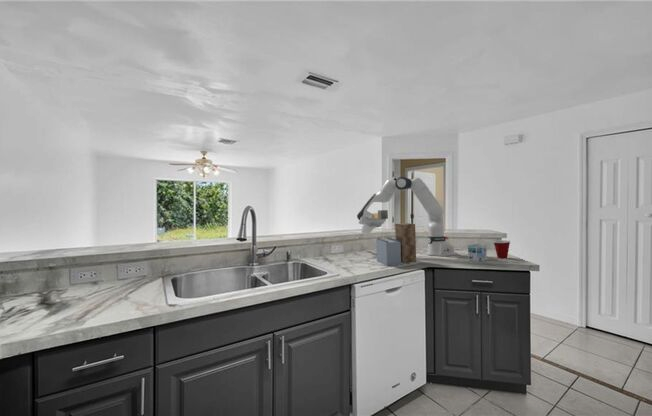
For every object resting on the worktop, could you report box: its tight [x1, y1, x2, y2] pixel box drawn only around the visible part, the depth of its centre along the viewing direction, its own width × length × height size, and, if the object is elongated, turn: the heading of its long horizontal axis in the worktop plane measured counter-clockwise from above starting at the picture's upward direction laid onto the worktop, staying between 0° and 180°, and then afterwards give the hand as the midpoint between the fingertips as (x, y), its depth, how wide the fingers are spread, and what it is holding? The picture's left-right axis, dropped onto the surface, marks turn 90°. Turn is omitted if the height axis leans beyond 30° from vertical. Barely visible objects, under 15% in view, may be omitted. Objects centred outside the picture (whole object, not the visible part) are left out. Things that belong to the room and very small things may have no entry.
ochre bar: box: [371, 209, 389, 220], centre depth 210 cm, size 5×20×6 cm, turn 11°
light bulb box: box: [467, 243, 488, 263], centre depth 194 cm, size 11×7×11 cm, turn 117°
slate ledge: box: [375, 237, 402, 266], centre depth 195 cm, size 10×18×16 cm, turn 11°
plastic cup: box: [492, 239, 511, 259], centre depth 200 cm, size 11×11×12 cm
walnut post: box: [394, 222, 417, 264], centre depth 198 cm, size 10×10×26 cm
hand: (375, 215), depth 217 cm, fingers closed on ochre bar, 3 cm apart
